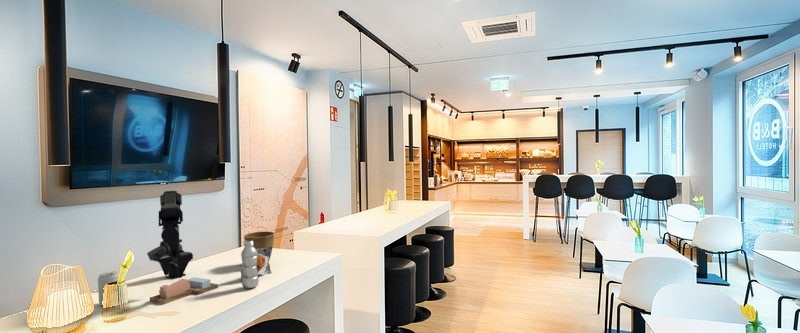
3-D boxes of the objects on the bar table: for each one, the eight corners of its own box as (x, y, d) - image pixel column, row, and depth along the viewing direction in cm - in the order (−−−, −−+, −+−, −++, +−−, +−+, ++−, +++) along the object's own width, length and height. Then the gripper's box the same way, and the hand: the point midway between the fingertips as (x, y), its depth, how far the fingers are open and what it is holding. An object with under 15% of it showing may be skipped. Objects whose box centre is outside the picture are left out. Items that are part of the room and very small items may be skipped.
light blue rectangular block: (186, 289, 162) (185, 280, 162) (194, 286, 165) (194, 277, 165) (202, 291, 158) (202, 282, 158) (210, 288, 161) (210, 279, 161)
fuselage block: (161, 299, 149) (158, 286, 149) (184, 287, 158) (181, 275, 157) (167, 301, 148) (164, 288, 147) (190, 288, 157) (188, 276, 156)
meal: (247, 283, 166) (246, 254, 166) (241, 282, 168) (239, 253, 168) (273, 273, 179) (272, 246, 179) (267, 272, 181) (266, 245, 181)
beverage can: (108, 307, 143) (106, 276, 143) (94, 306, 144) (93, 275, 144) (123, 301, 149) (122, 271, 149) (110, 300, 151) (109, 270, 150)
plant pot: (239, 266, 193) (237, 235, 192) (263, 259, 205) (262, 230, 205) (257, 270, 185) (256, 238, 185) (281, 262, 198) (280, 232, 197)
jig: (145, 300, 150) (145, 296, 149) (196, 283, 169) (196, 279, 169) (167, 305, 143) (167, 302, 142) (218, 287, 162) (218, 284, 162)
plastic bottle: (244, 285, 163) (242, 239, 163) (260, 284, 164) (258, 239, 163) (239, 290, 157) (237, 243, 156) (256, 289, 157) (254, 242, 157)
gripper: (136, 240, 149) (138, 279, 149) (164, 244, 140) (166, 285, 140) (165, 235, 159) (167, 271, 159) (193, 238, 150) (194, 276, 150)
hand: (173, 276), depth 152 cm, fingers open, 9 cm apart
